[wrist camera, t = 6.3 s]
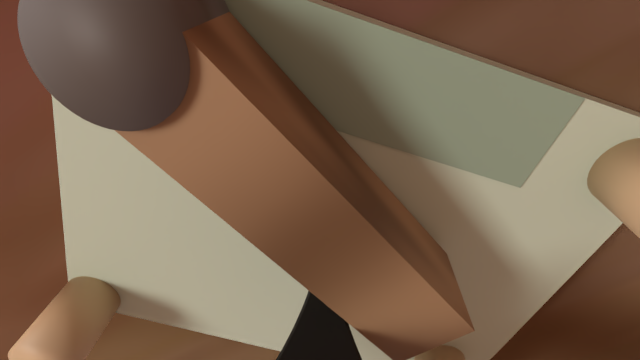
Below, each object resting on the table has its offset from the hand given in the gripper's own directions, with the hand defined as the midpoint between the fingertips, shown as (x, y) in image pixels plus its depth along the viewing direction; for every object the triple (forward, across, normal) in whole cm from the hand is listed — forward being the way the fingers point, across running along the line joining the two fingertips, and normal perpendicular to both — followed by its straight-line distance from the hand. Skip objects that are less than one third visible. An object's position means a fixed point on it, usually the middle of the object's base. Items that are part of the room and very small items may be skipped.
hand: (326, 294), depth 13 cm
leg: (+1, +1, -5) cm, 5 cm away
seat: (+2, 0, -2) cm, 3 cm away
